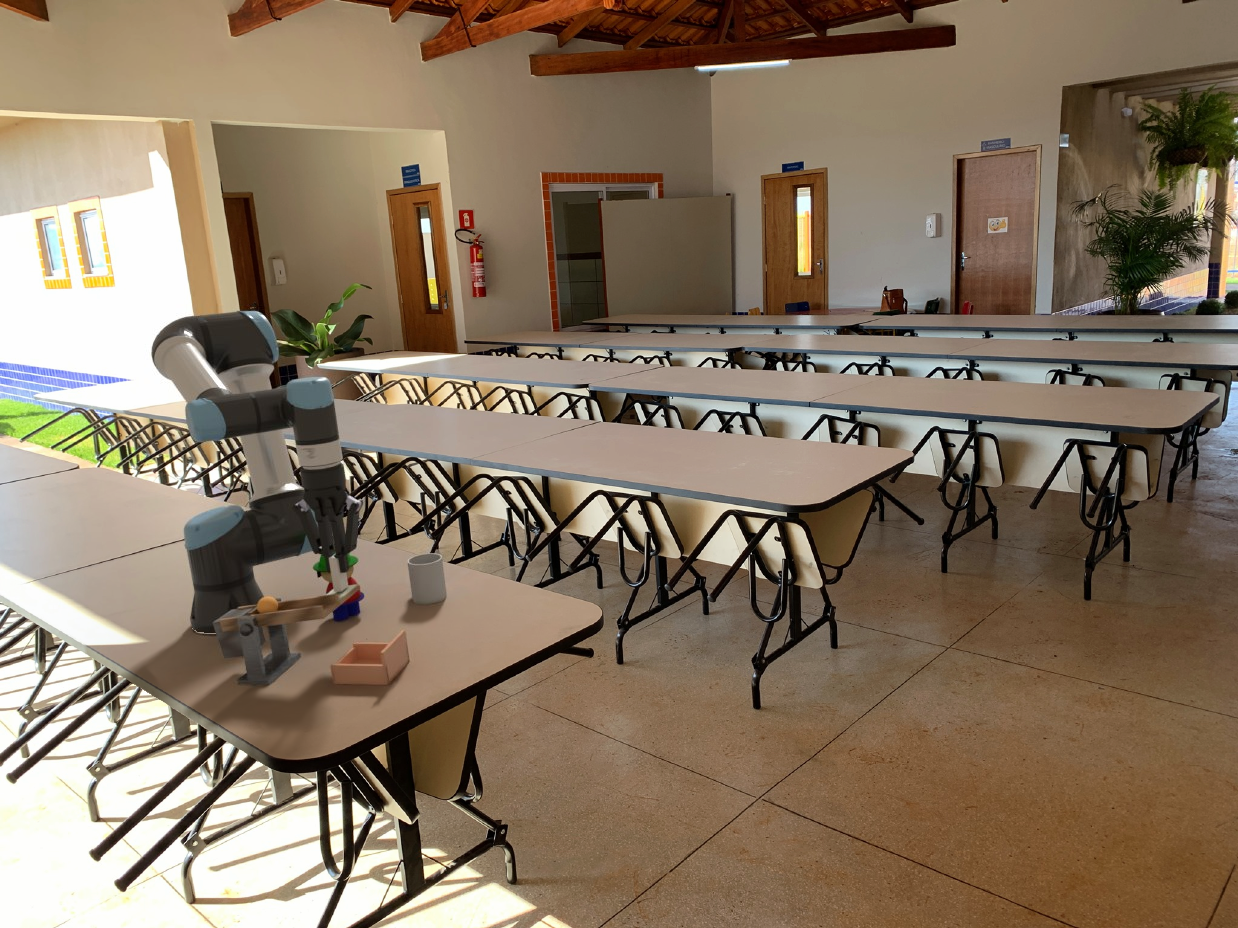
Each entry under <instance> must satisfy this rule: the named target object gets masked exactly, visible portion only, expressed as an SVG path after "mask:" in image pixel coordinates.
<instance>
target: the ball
mask: <svg viewBox="0 0 1238 928" xmlns="http://www.w3.org/2000/svg"><path fill="white" fill-rule="evenodd" d="M276 599H277V598H274V597H273V596H264V597H263V598H262V599H260V601H259V602H258V604H257V610H258V612H259V613H260V614H262V613H269V612H276V611H277V609H278V602H277V601H276Z"/></svg>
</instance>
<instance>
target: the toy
mask: <svg viewBox="0 0 1238 928" xmlns="http://www.w3.org/2000/svg"><path fill="white" fill-rule="evenodd" d="M334 547H335V546H334ZM335 553H336V552H334V554H335ZM348 561H349V570H348V571H347V572H346V575H347V581H348V586H349V585H356V584H358V583H357V581H356V579H355V578H353V577H352V575H353V573H354V571H355V569H354V566H355V565H356V564H357V563H358V562H359V558H358V557H357V556H355V555H351V553H348ZM312 569H313V570H314V571H315V572H316V576H317V578H318V579H319V578H321V577H322V578H323V580H325V581H326V582H327V583H328V584H327V586H326V590H325V595H326V594H328V593H329V592H330V591H331V590H333V589H334V588H333V582H332V576H331V573H328V572H327V569H326V563H325V558H324V556H323V555H321V554H320V557H319V561H318V562H317V561H316V562H315V563H314V564H313V565H312ZM364 598H365V594H364V592H362V591H361V588H360V589H359V590H358V591H357V592H356V593H354V594H353V595H352V596H351V597H350V598H348V599H347V600H346V601H345V602H344V603H342V604H341V605H340V606H339V607H337V608H336V609H335V610H334V611H333V612H332V617H333V621H334V622H343V621H347V620H348V619H349V617H350V618H351V617H355V616H356V617H357V616H358V615H360V614H361V606H360V601H362V600H364Z"/></svg>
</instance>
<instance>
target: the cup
mask: <svg viewBox="0 0 1238 928" xmlns="http://www.w3.org/2000/svg"><path fill="white" fill-rule="evenodd" d="M407 568H408V576H409V578H408V579H409V583H410V594H411V599H412V601H413V602H414V603H415V604H417V605H421V606H422V605H423V606H424V605H425V606H426V605H433V604H437V603H439V602H442V601H443V600H445V599H446V597H447V587H446V586H447V585H446V580H445V579H446V577H445V571H444V570H445V569H444V563H443V555H441V554H439V553H435V552H434V553H432V552H430V553H421V554H417V555H414V556H412V557H409V558H408V559H407Z"/></svg>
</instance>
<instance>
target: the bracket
mask: <svg viewBox="0 0 1238 928" xmlns="http://www.w3.org/2000/svg"><path fill="white" fill-rule="evenodd" d="M275 599H276V601H277V602H279V601H282V598H275ZM237 622H238V627H239V633H240V638H241V644H242V649H243V655H244V656H243V659H244V665H245V670H246V671H245V673H244V674H242V676H241V677H239V678H238V679H237V680H236V684H237V685H248V686H249V685H250V686H256V685H257V686H258V685H259V686H270V685H271V684H272V683H273V682H275V680H276V679H277V678H279V677H280V676H281V675H282V674H284V673H285V672H286V671H287V670H288V669H289V668H291V666H293V665H294V664H295V663H296V662H297V661H299V660H300V658H302V656H301V652H290V645H289V638H288V632H287V626H286V624H279V625H271V626H266V627H267V631H268V638H269V644H270V649H271V652H270V653H269V654H268V655H266V656H265V657H264V656H263V655H264V654H263V650H262V646H261V643H260V637H259V631H258V626H257V620H256V617H239V618H237Z"/></svg>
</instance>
